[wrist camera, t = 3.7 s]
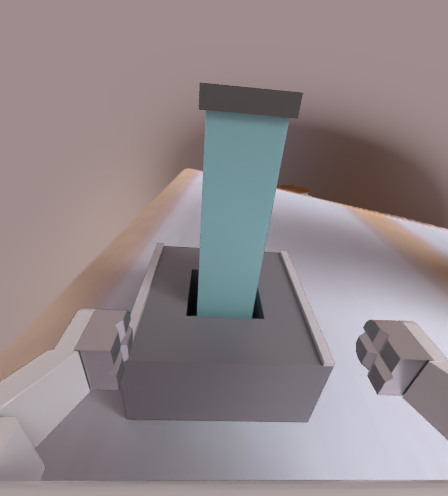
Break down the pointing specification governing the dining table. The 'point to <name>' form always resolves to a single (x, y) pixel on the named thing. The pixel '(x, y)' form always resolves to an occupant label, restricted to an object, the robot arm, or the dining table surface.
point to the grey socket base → (223, 348)
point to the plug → (238, 191)
